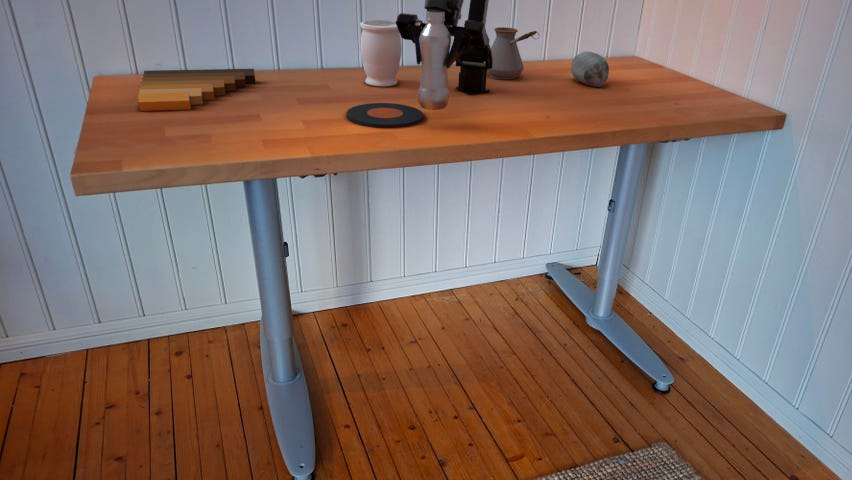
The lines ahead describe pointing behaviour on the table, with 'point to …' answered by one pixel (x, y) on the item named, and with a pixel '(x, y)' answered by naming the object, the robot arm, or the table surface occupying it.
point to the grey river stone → (590, 69)
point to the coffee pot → (507, 54)
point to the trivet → (385, 115)
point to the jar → (380, 52)
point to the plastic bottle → (434, 62)
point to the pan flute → (188, 87)
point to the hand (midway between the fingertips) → (432, 65)
